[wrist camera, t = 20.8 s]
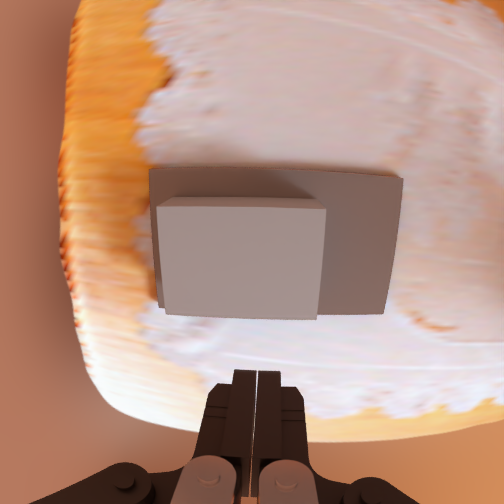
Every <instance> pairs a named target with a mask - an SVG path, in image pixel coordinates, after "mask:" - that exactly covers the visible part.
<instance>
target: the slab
mask: <svg viewBox="0 0 504 504" xmlns="http://www.w3.org/2000/svg"><path fill="white" fill-rule="evenodd" d="M156 208H157V225H158V239H159V252H160V264H161V275H162V285H163V294H164V303H165V312H166V314H168V315H183V316H199V317H219V318H243V319H280V320H316V319H317V311H318V301H319V292H320V282H321V271H322V260H323V248H324V236H325V222H326V208H325V207H324V206H323V205H322V204H321V203H320V202H319V201H318V200H317V199H304V198H272V197H172V198H170V199H168V200H167V201H165V202H163V203H162V204H160V205H158V206H157V207H156Z"/></svg>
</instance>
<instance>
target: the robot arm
mask: <svg viewBox="0 0 504 504" xmlns="http://www.w3.org/2000/svg"><path fill="white" fill-rule="evenodd" d="M256 374H257V371H256V370H238V369H235V370H234V374H233V380H232V384H220V383H217V384H216V386H215V387H214V388H213V389H212V390H211V391H210V392H209V394H208V398H207V402H206V408H205V410H204V414H203V419H202V423H201V427H200V431H199V435H198V440H197V444H196V448H195V452H194V455H193V457H192V459H191V460H190V461H189V462H188V463H187V464H186V465H185V466H183V467H182V468H180V469H178V470H175V471H170V472H162V473H147V471H146V470H145V469H143V468H142V467H140V466H138V465H136V464H133V463H127V462H123V463H117V464H114V465H112V466H109V467H108V468H106V469H104V470H102V471H100V472H98V473H96V474H94V475H92V476H90V477H88V478H86V479H84V480H82V481H79V482H77V483H75V484H73V485H71V486H69V487H67V488H65V489H62V490H60V491H58V492H56V493H53V494H51V495H49V496H46V497H44V498H42V499H39V500H37V501H34V502H32V503H30V504H241V497H242V496H243V497H248V495H249V483H250V471H251V458H252V478H251V497H257V504H419V503H417V502H416V501H415V500H413V499H412V498H410V497H408V496H407V495H406V494H404V493H403V492H401V491H400V490H398V489H397V488H395V487H394V486H392V485H391V484H390V483H388V482H387V481H385V480H382V479H380V478H376V477H366V478H361V479H358V480H357V481H354V482H353V483H352V484H346V483H340V482H335V481H331V480H328V479H325V478H323V477H321V476H320V475H318V474H317V473H316V472H315V471H314V470H313V469H312V467H311V465H310V463H309V458H308V444H307V432H306V423H305V412H304V399H303V396H302V395H301V394H300V392H299V391H298V389H297V388H296V387H281V372H280V371H258V385H257V399H256ZM255 401H256V413H255ZM254 419H255V427H254ZM253 432H254V442H253ZM252 446H253V454H252Z"/></svg>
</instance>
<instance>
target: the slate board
mask: <svg viewBox="0 0 504 504" xmlns="http://www.w3.org/2000/svg"><path fill="white" fill-rule="evenodd" d="M149 188H150V211H151V228H152V243H153V255H154V267H155V278H156V287H157V297H158V306H159V308H165V303H164V294H163V285H162V275H161V264H160V252H159V239H158V225H157V208H156V207H157V206H158V205H160V204H162V203H163V202H165V201H167V200H168V199H170V198H172V197H272V198H304V199H317V200H318V201H319V202H320V203H321V204H322V205H323V206H324V207H325V208H326V222H325V236H324V248H323V260H322V271H321V282H320V292H319V301H318V311H317V315H366V314H383V313H384V309H385V304H386V299H387V294H388V289H389V283H390V278H391V272H392V266H393V260H394V254H395V247H396V240H397V233H398V225H399V217H400V208H401V199H402V188H403V178H400V177H393V176H383V175H372V174H361V173H349V172H335V171H320V170H302V169H279V168H238V167H195V168H154V169H149Z"/></svg>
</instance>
